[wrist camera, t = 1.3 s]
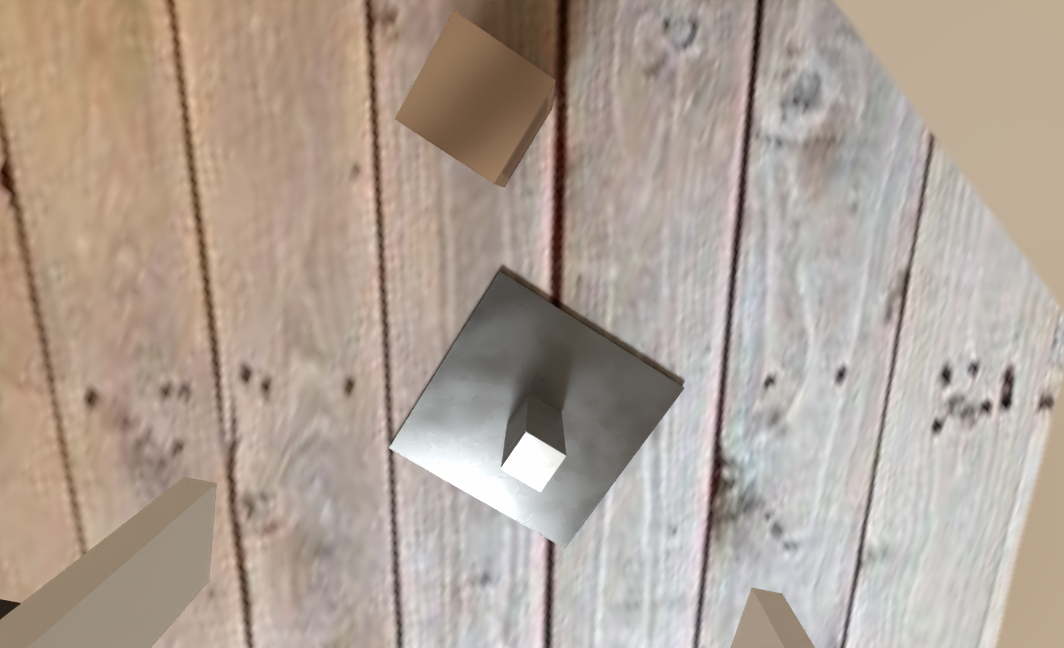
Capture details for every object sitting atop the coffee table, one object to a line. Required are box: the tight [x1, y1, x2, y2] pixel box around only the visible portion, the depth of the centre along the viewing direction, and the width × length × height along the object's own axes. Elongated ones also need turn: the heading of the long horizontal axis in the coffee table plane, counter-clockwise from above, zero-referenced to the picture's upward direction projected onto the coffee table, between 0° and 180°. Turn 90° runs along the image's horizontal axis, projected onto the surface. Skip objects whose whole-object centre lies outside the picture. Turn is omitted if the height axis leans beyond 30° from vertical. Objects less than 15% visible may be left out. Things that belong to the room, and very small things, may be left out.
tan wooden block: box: [395, 11, 556, 187], centre depth 27 cm, size 5×5×8 cm
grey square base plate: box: [389, 271, 684, 548], centre depth 32 cm, size 14×14×6 cm
